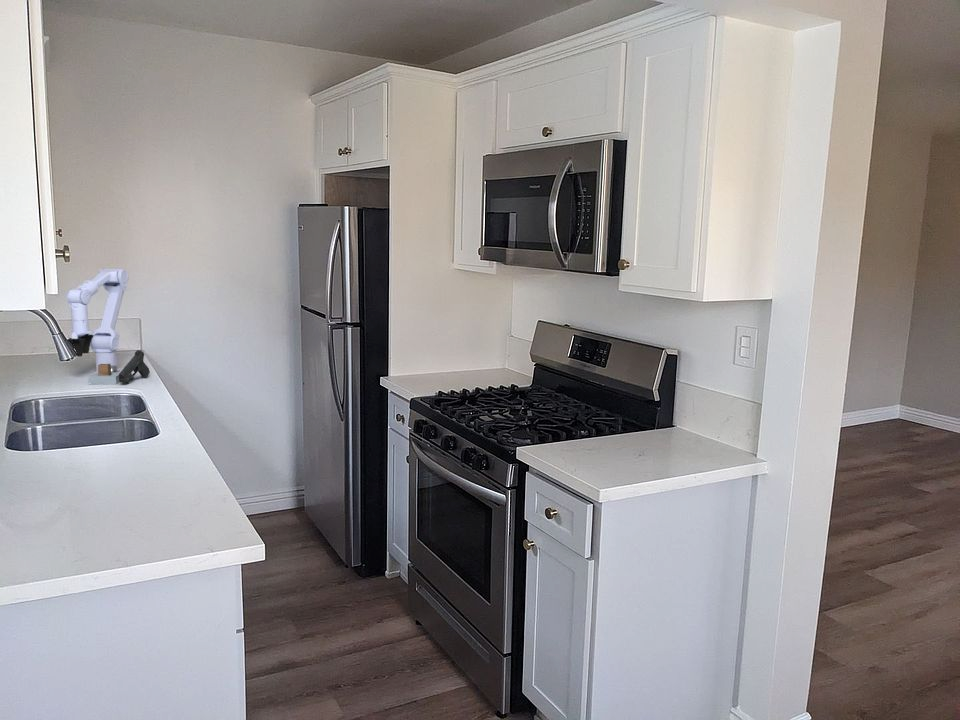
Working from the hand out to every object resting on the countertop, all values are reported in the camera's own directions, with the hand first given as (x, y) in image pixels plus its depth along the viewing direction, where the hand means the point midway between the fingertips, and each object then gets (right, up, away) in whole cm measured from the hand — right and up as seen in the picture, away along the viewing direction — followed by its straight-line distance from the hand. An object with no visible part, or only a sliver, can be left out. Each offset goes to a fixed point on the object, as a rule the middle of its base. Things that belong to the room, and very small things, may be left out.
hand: (82, 354), depth 297 cm
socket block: (+11, -11, -3) cm, 15 cm away
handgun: (+21, -11, 0) cm, 23 cm away
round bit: (+9, -10, +5) cm, 14 cm away
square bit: (+10, -11, -3) cm, 15 cm away
